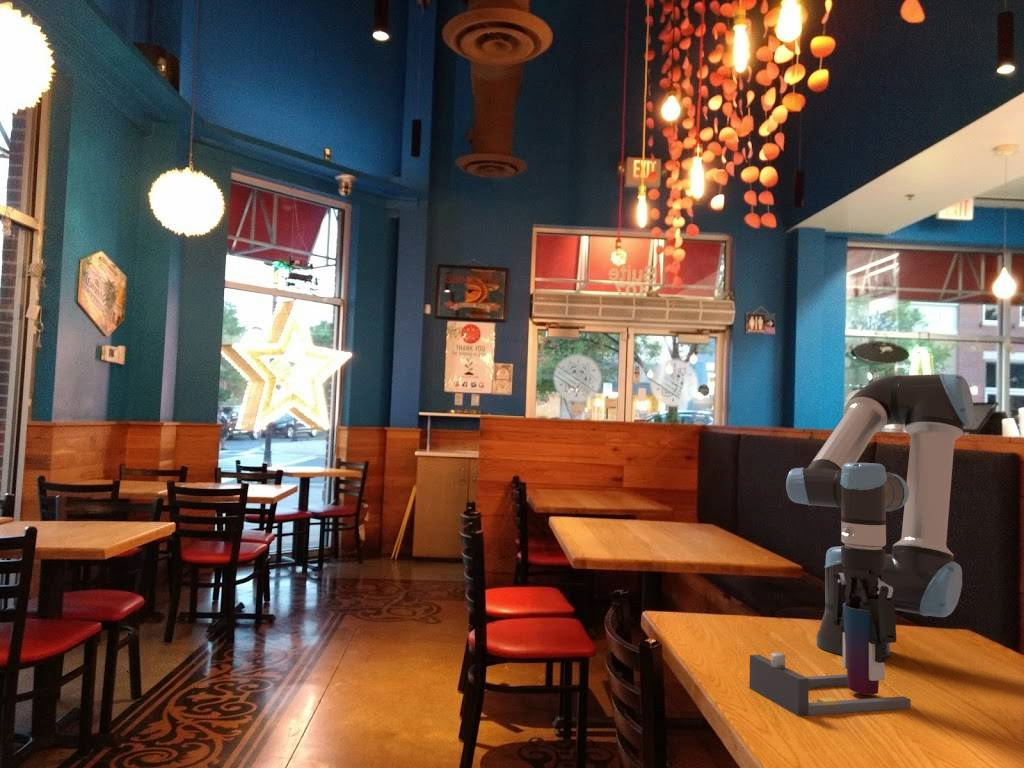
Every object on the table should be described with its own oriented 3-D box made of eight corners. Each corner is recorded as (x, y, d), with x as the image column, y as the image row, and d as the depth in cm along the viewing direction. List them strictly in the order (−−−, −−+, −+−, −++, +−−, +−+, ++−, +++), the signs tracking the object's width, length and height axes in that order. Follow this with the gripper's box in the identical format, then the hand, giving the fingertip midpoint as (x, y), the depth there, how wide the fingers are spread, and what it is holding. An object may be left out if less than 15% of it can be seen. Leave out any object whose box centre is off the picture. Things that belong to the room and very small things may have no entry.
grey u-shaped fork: (853, 681, 143) (853, 639, 143) (910, 708, 129) (910, 661, 130) (748, 688, 136) (748, 643, 137) (797, 716, 123) (797, 667, 123)
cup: (888, 698, 131) (888, 612, 132) (847, 694, 132) (847, 609, 133) (877, 685, 138) (877, 603, 139) (838, 681, 139) (839, 601, 140)
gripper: (812, 538, 145) (811, 659, 143) (885, 554, 127) (885, 692, 125) (844, 538, 147) (843, 657, 145) (920, 554, 129) (921, 690, 127)
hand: (863, 673), depth 135 cm, fingers closed on cup, 6 cm apart
